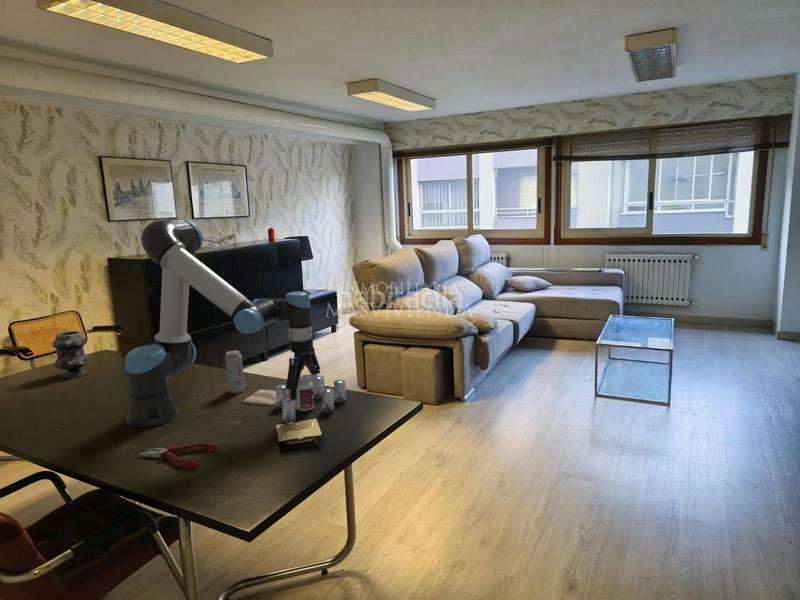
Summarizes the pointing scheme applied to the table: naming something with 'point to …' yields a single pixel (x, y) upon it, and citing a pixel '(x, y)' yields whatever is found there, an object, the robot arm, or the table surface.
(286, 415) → the spacer near
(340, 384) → the grey cylinder
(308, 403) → the pill bottle
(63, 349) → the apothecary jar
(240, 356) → the energy drink can
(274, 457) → the table surface
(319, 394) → the cylinder
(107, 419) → the table surface
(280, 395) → the cylinder
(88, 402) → the table surface
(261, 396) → the coaster
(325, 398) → the cylinder
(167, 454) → the pliers
